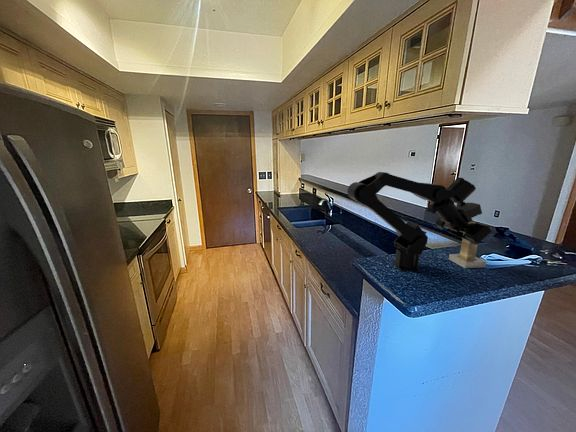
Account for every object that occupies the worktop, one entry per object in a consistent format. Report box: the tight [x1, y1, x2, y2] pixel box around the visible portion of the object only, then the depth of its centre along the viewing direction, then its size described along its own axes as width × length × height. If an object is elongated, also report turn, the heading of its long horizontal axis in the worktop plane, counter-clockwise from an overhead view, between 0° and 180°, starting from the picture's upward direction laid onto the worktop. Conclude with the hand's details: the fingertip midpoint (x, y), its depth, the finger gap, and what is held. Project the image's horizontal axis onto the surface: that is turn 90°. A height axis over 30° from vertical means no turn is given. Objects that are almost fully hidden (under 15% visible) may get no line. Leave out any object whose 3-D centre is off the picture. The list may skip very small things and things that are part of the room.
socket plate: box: [448, 253, 487, 269], centre depth 86 cm, size 8×8×2 cm
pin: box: [459, 221, 479, 261], centre depth 85 cm, size 3×3×14 cm
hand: (473, 241), depth 85 cm, fingers closed on pin, 3 cm apart
